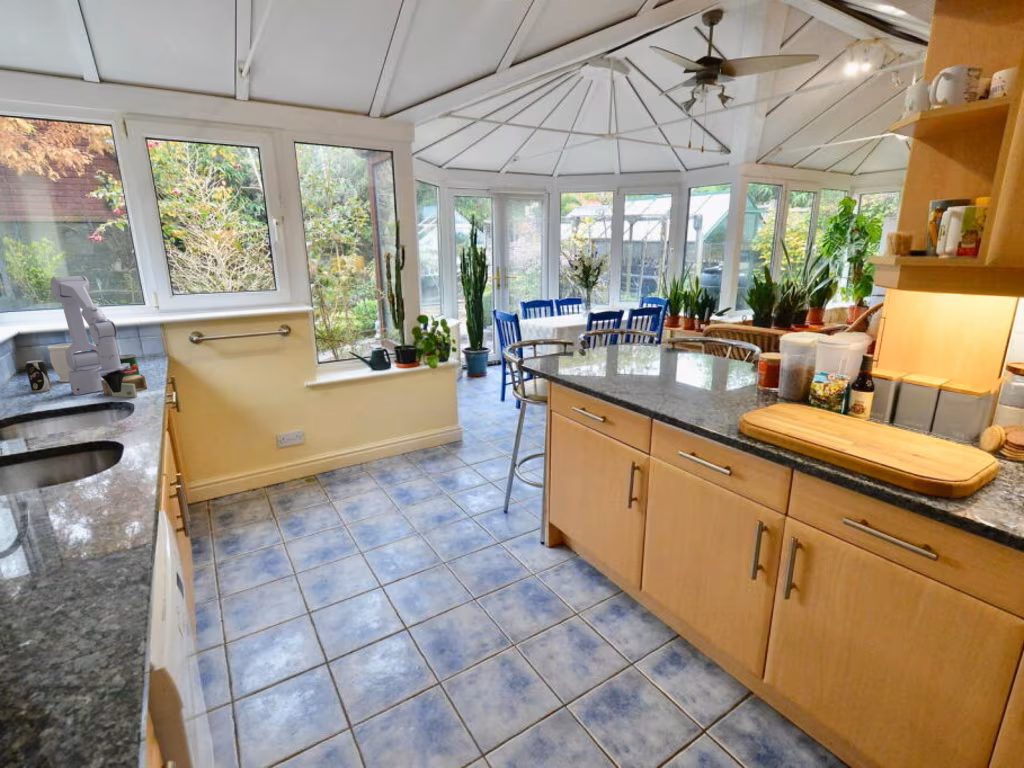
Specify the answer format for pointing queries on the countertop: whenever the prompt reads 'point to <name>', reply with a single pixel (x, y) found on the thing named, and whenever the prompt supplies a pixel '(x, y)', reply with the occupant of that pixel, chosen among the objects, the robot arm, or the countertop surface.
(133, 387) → the door
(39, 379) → the beverage can
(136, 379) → the cabinet
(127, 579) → the countertop surface
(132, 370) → the canned tomato
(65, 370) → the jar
